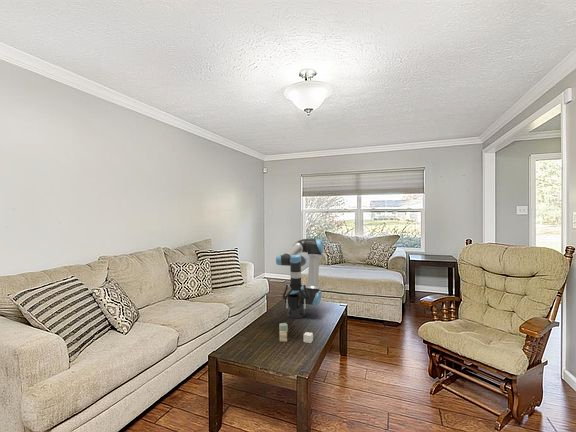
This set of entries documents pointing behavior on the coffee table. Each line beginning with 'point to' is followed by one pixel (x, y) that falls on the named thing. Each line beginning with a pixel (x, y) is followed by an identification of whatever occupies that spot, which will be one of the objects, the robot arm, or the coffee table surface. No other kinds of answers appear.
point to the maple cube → (283, 336)
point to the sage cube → (283, 327)
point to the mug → (294, 301)
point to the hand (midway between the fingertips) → (296, 308)
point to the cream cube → (308, 337)
